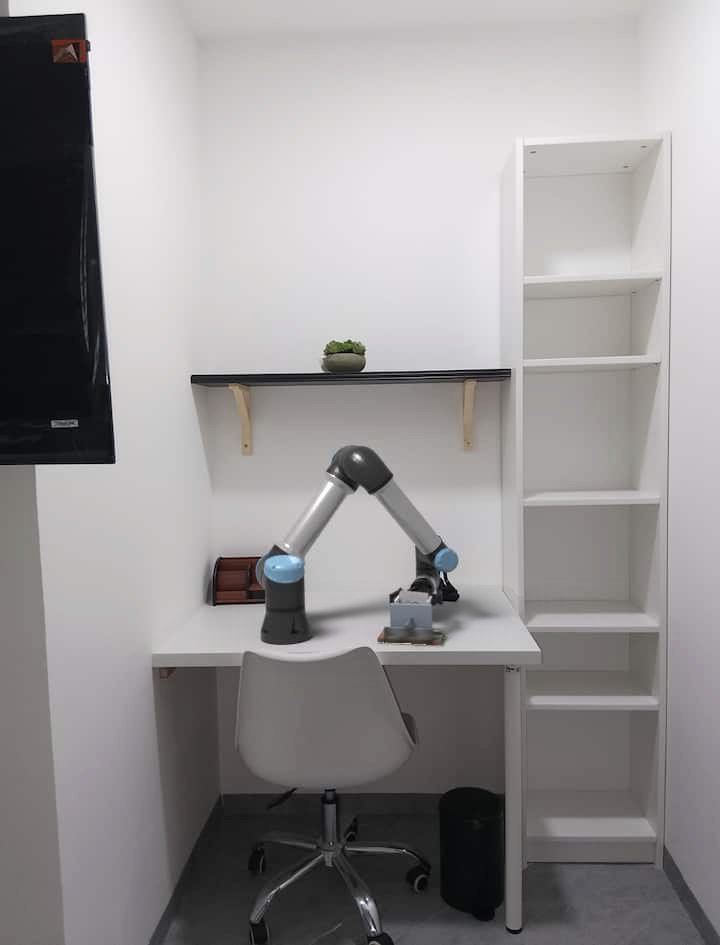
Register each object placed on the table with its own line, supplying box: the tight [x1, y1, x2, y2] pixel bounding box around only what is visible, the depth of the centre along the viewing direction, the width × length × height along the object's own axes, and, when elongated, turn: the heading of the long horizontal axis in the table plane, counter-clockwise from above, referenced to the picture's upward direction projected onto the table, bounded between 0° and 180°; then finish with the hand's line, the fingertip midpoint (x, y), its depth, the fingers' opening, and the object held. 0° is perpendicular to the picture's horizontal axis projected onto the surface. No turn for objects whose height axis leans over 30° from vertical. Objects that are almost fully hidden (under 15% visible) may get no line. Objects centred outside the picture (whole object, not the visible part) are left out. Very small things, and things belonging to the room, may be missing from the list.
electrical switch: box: [399, 590, 430, 604], centre depth 213 cm, size 9×5×9 cm, turn 62°
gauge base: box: [376, 626, 446, 646], centre depth 207 cm, size 18×10×4 cm, turn 77°
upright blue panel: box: [389, 603, 443, 634], centre depth 203 cm, size 15×8×8 cm, turn 77°
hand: (411, 605), depth 208 cm, fingers closed on electrical switch, 9 cm apart
